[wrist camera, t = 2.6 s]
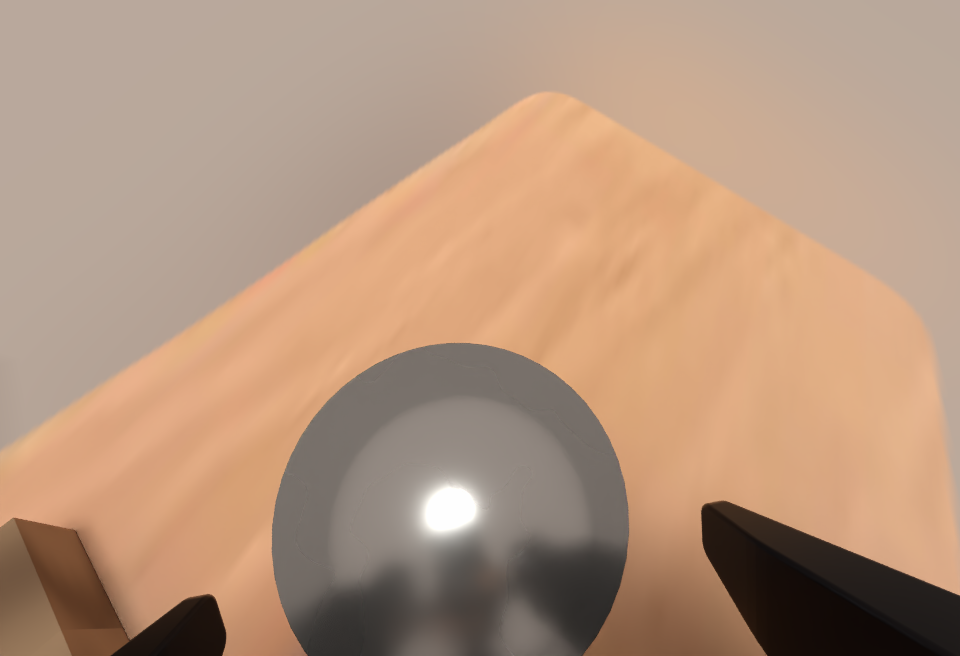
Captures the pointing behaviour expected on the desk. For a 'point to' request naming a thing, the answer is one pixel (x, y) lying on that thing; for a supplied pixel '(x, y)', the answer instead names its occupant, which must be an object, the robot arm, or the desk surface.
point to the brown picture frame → (52, 595)
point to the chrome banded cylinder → (451, 512)
